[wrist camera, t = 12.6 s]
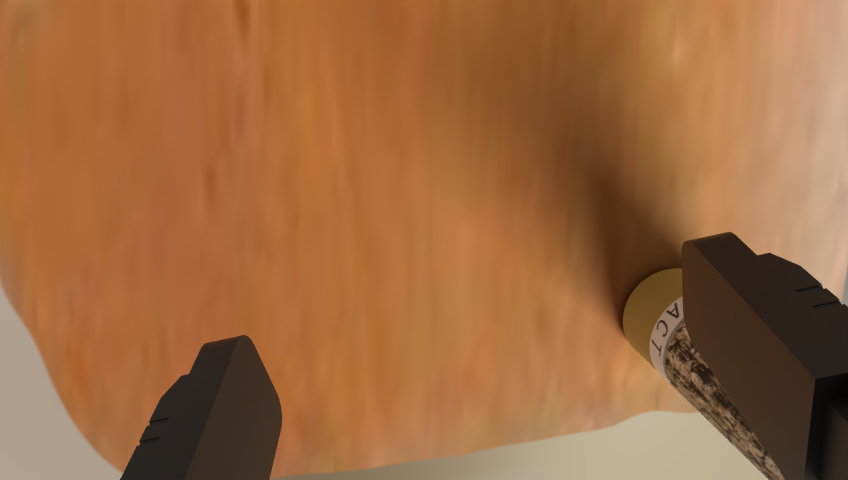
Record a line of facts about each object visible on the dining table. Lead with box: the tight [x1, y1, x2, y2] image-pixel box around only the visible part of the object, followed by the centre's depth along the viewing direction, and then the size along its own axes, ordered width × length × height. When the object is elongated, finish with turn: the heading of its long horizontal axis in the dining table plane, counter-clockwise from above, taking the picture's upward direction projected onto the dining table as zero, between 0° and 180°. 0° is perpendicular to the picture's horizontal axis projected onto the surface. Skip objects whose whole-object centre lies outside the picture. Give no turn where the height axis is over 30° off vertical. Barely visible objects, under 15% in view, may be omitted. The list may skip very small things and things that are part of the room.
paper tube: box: [623, 268, 786, 480], centre depth 30 cm, size 7×7×25 cm
